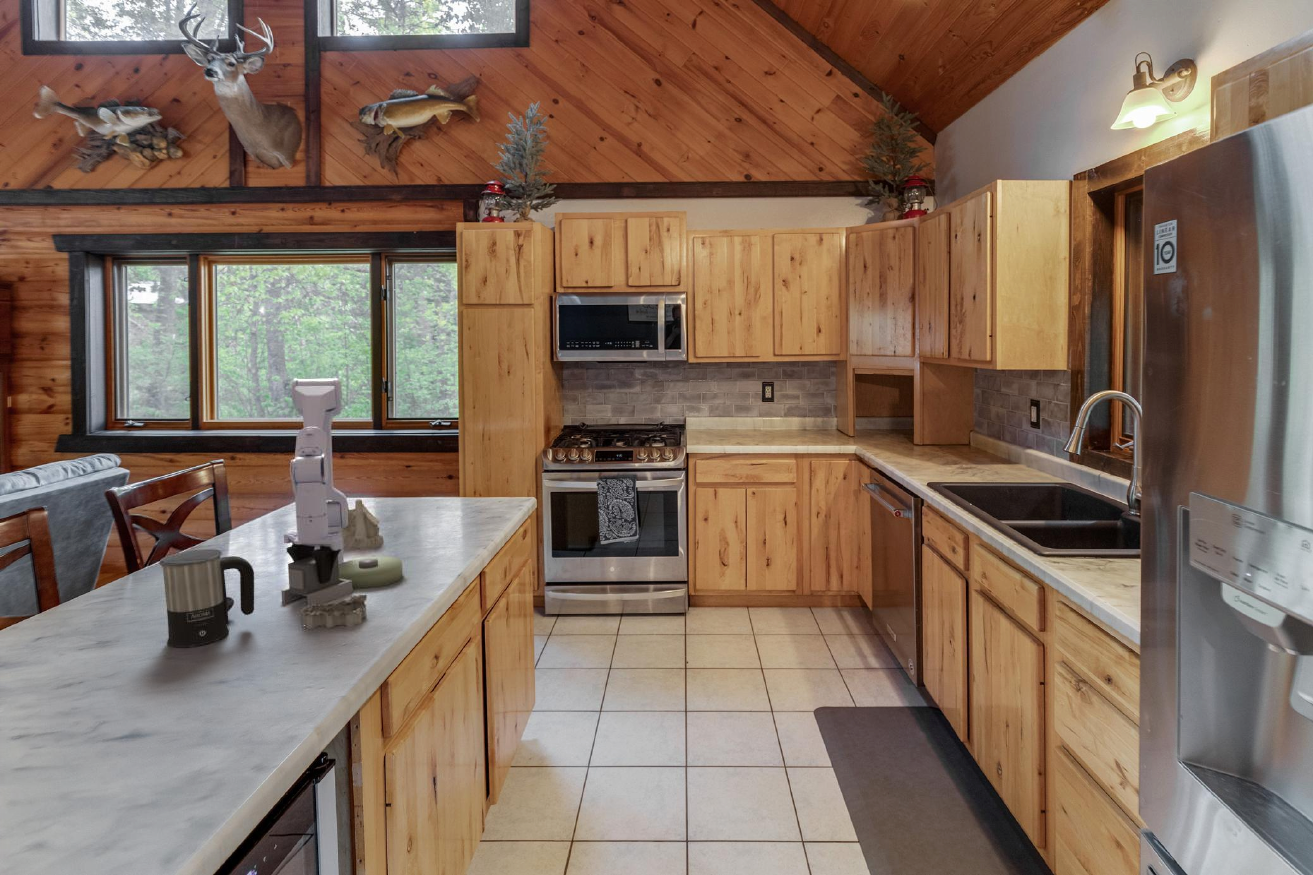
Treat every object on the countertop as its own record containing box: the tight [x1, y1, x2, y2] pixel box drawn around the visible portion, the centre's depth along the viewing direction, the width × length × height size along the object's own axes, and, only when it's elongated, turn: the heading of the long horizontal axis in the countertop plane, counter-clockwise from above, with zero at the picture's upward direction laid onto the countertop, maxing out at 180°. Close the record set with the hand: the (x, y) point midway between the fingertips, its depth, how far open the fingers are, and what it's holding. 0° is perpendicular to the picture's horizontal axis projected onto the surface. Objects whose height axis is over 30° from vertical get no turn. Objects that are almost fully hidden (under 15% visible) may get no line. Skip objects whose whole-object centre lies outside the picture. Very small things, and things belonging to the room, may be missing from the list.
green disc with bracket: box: [280, 556, 403, 605], centre depth 156 cm, size 14×26×4 cm, turn 156°
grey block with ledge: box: [287, 556, 339, 597], centre depth 148 cm, size 8×5×6 cm, turn 156°
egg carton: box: [300, 594, 368, 629], centre depth 135 cm, size 11×8×4 cm
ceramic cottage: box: [327, 498, 385, 551], centre depth 193 cm, size 16×16×15 cm
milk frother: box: [158, 548, 255, 648], centre depth 130 cm, size 14×16×15 cm
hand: (315, 580), depth 148 cm, fingers closed on grey block with ledge, 5 cm apart
